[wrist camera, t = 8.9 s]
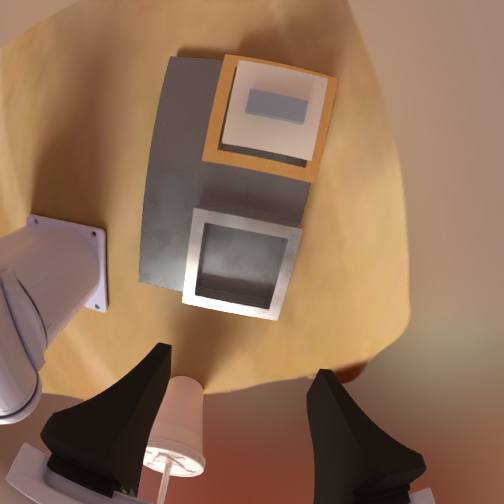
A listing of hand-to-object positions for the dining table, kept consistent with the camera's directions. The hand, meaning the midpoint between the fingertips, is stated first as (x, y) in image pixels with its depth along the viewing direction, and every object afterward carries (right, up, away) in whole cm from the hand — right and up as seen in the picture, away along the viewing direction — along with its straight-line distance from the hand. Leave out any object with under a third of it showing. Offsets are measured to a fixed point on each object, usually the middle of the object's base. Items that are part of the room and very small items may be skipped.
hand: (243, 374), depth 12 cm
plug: (+1, +14, +4) cm, 15 cm away
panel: (-1, +11, +7) cm, 12 cm away
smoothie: (-7, -8, +14) cm, 18 cm away
